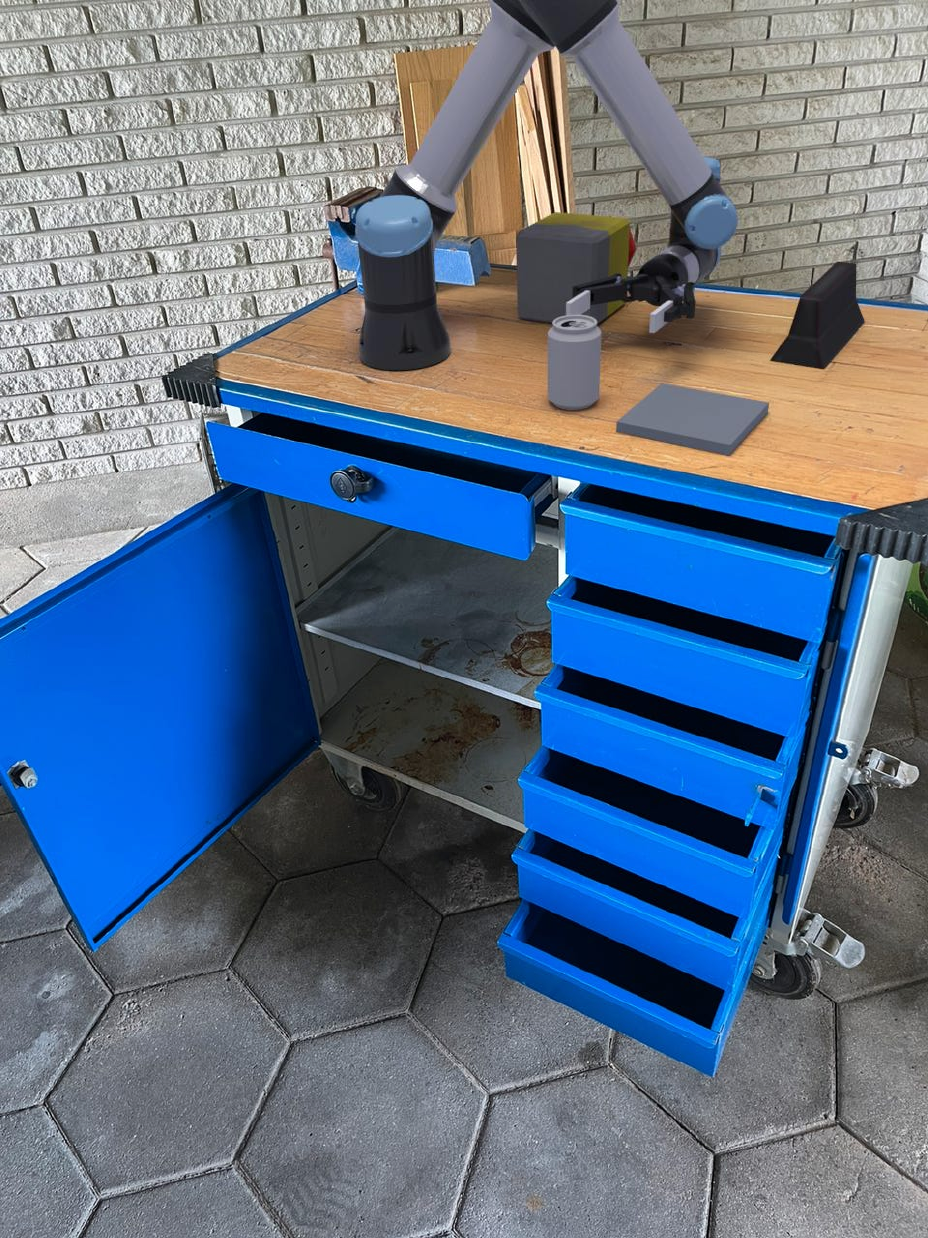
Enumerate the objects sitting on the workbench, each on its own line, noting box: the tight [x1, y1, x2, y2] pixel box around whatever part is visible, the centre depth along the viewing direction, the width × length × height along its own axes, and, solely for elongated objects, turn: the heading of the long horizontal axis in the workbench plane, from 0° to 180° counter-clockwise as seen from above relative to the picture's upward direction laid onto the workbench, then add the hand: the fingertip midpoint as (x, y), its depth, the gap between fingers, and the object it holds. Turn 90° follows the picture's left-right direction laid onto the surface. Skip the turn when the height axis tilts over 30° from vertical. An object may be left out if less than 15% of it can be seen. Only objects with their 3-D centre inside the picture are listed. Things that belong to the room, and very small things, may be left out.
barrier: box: [769, 261, 866, 370], centre depth 152 cm, size 24×9×10 cm, turn 147°
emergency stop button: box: [515, 211, 637, 325], centre depth 172 cm, size 15×24×15 cm, turn 149°
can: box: [547, 315, 602, 411], centre depth 137 cm, size 8×8×12 cm
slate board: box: [615, 382, 770, 456], centre depth 132 cm, size 16×15×2 cm
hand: (609, 317), depth 142 cm, fingers open, 13 cm apart
